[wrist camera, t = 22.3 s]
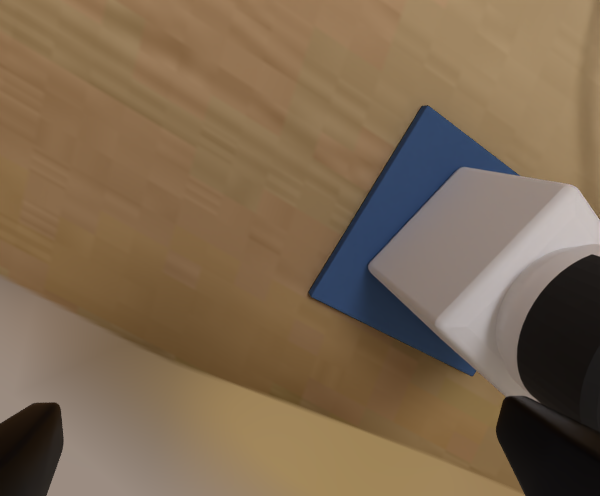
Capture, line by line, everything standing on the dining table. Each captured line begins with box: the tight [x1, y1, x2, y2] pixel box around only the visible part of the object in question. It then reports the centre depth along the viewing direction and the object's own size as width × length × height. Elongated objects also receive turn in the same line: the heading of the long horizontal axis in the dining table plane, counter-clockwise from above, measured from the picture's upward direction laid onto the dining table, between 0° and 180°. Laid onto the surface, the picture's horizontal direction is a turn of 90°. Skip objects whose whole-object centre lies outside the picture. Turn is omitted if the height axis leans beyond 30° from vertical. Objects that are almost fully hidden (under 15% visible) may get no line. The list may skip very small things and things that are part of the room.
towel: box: [309, 105, 519, 376], centre depth 23 cm, size 11×12×1 cm
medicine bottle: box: [368, 167, 600, 432], centre depth 17 cm, size 7×7×12 cm
